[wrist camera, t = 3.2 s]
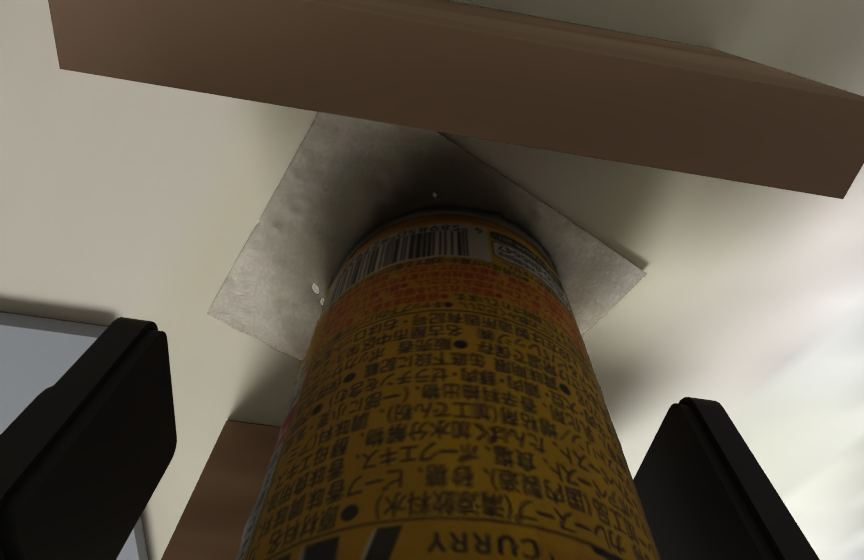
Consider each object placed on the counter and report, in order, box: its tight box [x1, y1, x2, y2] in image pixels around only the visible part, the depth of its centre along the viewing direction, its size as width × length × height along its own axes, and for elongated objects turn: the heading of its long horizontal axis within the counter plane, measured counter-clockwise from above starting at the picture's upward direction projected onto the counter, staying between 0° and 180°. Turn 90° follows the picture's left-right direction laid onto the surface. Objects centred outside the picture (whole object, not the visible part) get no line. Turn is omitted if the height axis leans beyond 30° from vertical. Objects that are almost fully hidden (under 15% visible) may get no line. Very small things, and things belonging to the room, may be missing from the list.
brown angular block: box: [48, 0, 864, 560], centre depth 12 cm, size 13×10×5 cm
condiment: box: [208, 112, 661, 560], centre depth 9 cm, size 7×8×12 cm
